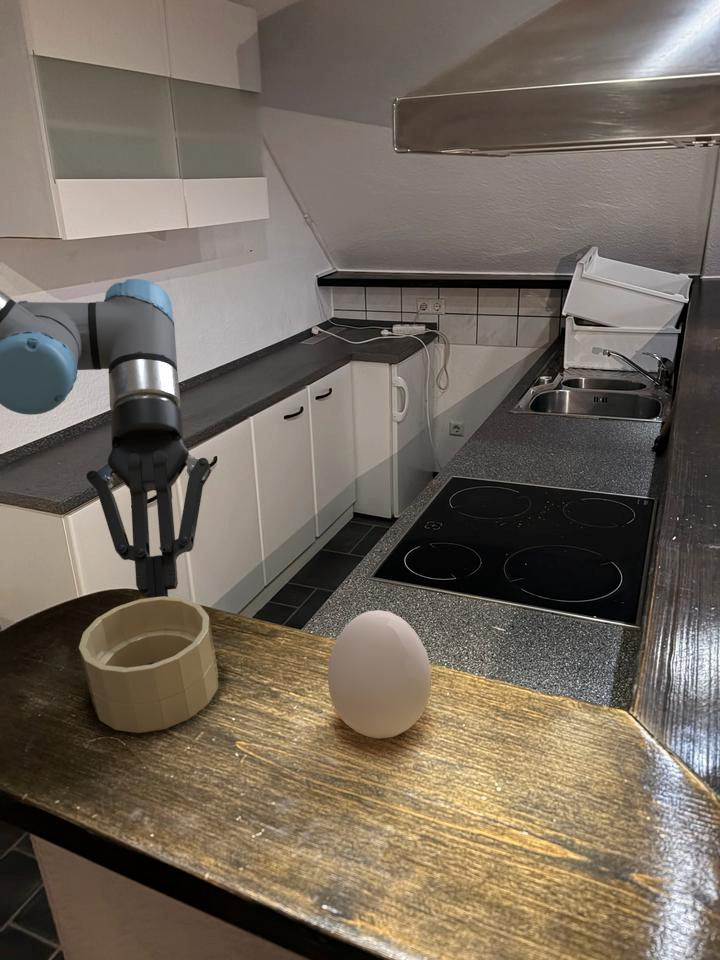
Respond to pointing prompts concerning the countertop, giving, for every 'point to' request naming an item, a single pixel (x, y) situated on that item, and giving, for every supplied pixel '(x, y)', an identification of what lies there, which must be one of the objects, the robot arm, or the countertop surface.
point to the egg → (379, 675)
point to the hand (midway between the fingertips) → (159, 622)
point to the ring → (142, 640)
